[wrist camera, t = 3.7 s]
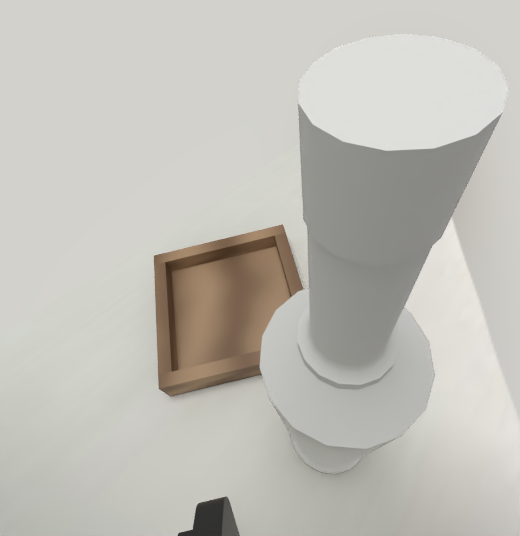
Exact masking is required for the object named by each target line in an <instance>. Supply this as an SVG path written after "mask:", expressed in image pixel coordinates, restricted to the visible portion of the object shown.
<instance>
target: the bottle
mask: <svg viewBox="0 0 520 536" xmlns="http://www.w3.org/2000/svg"><path fill="white" fill-rule="evenodd" d="M508 91H509V86H508V84H507V82H506V80H505V78H504V76H503V74H502V72H501V70H500V68H499V66H498V65H497V64H496V63H494V62H493V61H491V60H490V59H489V58H487V57H486V56H484V55H483V54H481V53H480V52H479V51H477V50H475V49H474V48H472V47H469V46H466V45H463V44H460V43H457V42H454V41H451V40H448V39H444V38H441V37H432V36H422V35H410V34H398V35H389V36H378V37H369V38H365V39H362V40H359V41H356V42H353V43H349V44H346V45H343V46H340V47H337V48H335V49H334V50H332V51H330V52H329V53H327V54H326V55H324V56H322V57H321V58H319V59H318V60H316V61H315V62H313V63H312V65H311V66H310V68H309V69H308V70H307V72H306V73H305V74H304V76H303V77H302V78H301V80H300V81H299V97H298V98H299V99H298V109H299V129H300V154H301V176H302V198H303V219H304V221H305V223H306V225H307V229H308V267H309V288H307V289H304V290H301V291H298V292H297V293H296V294H294V295H293V296H292V297H291V298H290V299H289V300H287V301H286V302H285V303H284V304H283V305H281V306H280V307H279V308H278V309H277V310H276V311H275V313H274V315H273V317H272V318H271V320H270V322H269V324H268V326H267V328H266V330H265V332H264V334H263V336H262V344H261V355H260V370H261V373H262V377H263V380H264V383H265V386H266V389H267V392H268V396H269V399H270V401H271V402H272V404H273V406H274V407H275V409H276V411H277V412H278V414H279V416H280V417H281V419H282V421H283V422H284V424H285V426H286V427H287V429H288V431H289V432H290V437H291V440H292V443H293V446H294V449H295V451H296V452H297V453H298V455H299V456H300V457H301V458H302V460H303V461H304V462H305V463H306V464H307V465H309V466H311V467H312V468H314V469H316V470H318V471H319V472H323V473H334V474H338V473H341V472H343V471H346V470H349V469H351V468H353V467H354V466H355V465H356V464H357V463H358V462H359V461H360V460H361V459H362V458H363V456H364V455H366V454H368V453H370V452H372V451H374V450H376V449H378V448H379V447H381V446H383V445H385V444H387V443H389V442H391V441H393V440H395V439H396V438H398V437H400V436H402V435H403V434H404V433H405V431H406V430H407V429H408V428H409V427H410V426H411V425H412V424H413V423H414V422H415V420H416V419H417V418H418V417H419V416H420V415H421V414H422V413H423V412H424V411H425V409H426V407H427V403H428V399H429V396H430V392H431V388H432V384H433V381H434V377H435V373H434V367H433V361H432V356H431V350H430V344H429V341H428V339H427V338H426V336H425V334H424V333H423V331H422V330H421V328H420V326H419V325H418V323H417V322H416V320H415V318H414V317H413V315H412V313H411V312H409V311H408V310H407V309H405V308H404V306H405V304H406V301H407V299H408V297H409V295H410V293H411V291H412V288H413V286H414V284H415V282H416V280H417V278H418V276H419V273H420V271H421V269H422V267H423V265H424V263H425V261H426V258H427V256H428V254H429V252H430V250H431V248H432V245H434V244H435V243H436V242H437V241H438V240H439V239H440V238H441V237H442V235H443V233H444V231H445V229H446V227H447V225H448V222H449V220H450V218H451V216H452V214H453V212H454V210H455V208H456V206H457V204H458V202H459V200H460V198H461V196H462V194H463V192H464V190H465V188H466V186H467V184H468V182H469V180H470V178H471V175H472V174H473V171H474V170H475V168H476V165H477V163H478V161H479V159H480V157H481V155H482V153H483V151H484V149H485V147H486V145H487V143H488V141H489V139H490V137H491V135H492V133H493V131H494V129H495V127H496V125H497V123H498V121H499V118H500V117H501V115H502V112H503V109H504V105H505V101H506V98H507V94H508Z"/></svg>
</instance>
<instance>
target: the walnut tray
mask: <svg viewBox="0 0 520 536" xmlns="http://www.w3.org/2000/svg"><path fill="white" fill-rule="evenodd" d="M154 270H155V297H156V324H157V351H158V378H159V389H160V390H162V391H163V392H165V393H166V394H168V395H169V396H173V395H178V394H182V393H186V392H190V391H194V390H198V389H202V388H207V387H211V386H215V385H219V384H223V383H227V382H232V381H236V380H240V379H244V378H248V377H252V376H257V375H261V374H262V373H261V370H260V355H261V344H262V336H263V334H264V332H265V330H266V328H267V326H268V324H269V322H270V320H271V318H272V317H273V315H274V313H275V311H276V310H277V309H278V308H279V307H280V306H281V305H283V304H284V303H285V302H286V301H287V300H289V299H290V298H291V297H292V296H293V295H294V294H296V293H297V292H298V291H301V290H303V288H302V285H301V281H300V278H299V275H298V272H297V268H296V265H295V262H294V259H293V255H292V252H291V249H290V246H289V243H288V239H287V236H286V233H285V230H284V226H283V225H279V226H275V227H271V228H267V229H263V230H258V231H254V232H250V233H246V234H242V235H238V236H234V237H230V238H225V239H221V240H217V241H213V242H209V243H205V244H201V245H197V246H192V247H188V248H184V249H180V250H176V251H172V252H168V253H164V254H159V255H155V256H154Z"/></svg>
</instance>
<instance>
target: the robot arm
mask: <svg viewBox="0 0 520 536" xmlns="http://www.w3.org/2000/svg"><path fill="white" fill-rule="evenodd" d="M178 536H240V535H239V532H238V529H237V525H236V522H235V519H234V515H233V512H232V509H231V505H230V502H229V500H228V498H227V497H223V498H219V499H214V500H210V501H206V502H201V503H198V505H197V507H196V513H195V519H194V525H193V530H190V531H185V532H181V533H179V534H178Z"/></svg>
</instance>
